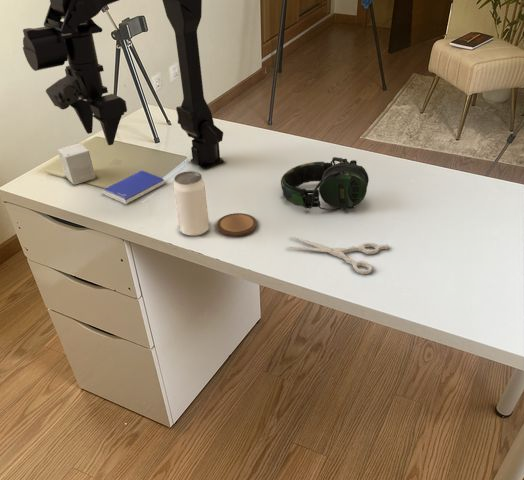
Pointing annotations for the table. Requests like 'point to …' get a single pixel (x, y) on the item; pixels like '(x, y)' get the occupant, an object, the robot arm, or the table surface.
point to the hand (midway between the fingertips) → (100, 138)
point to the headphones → (326, 184)
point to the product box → (77, 163)
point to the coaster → (237, 225)
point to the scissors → (341, 251)
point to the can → (191, 203)
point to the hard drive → (133, 187)
